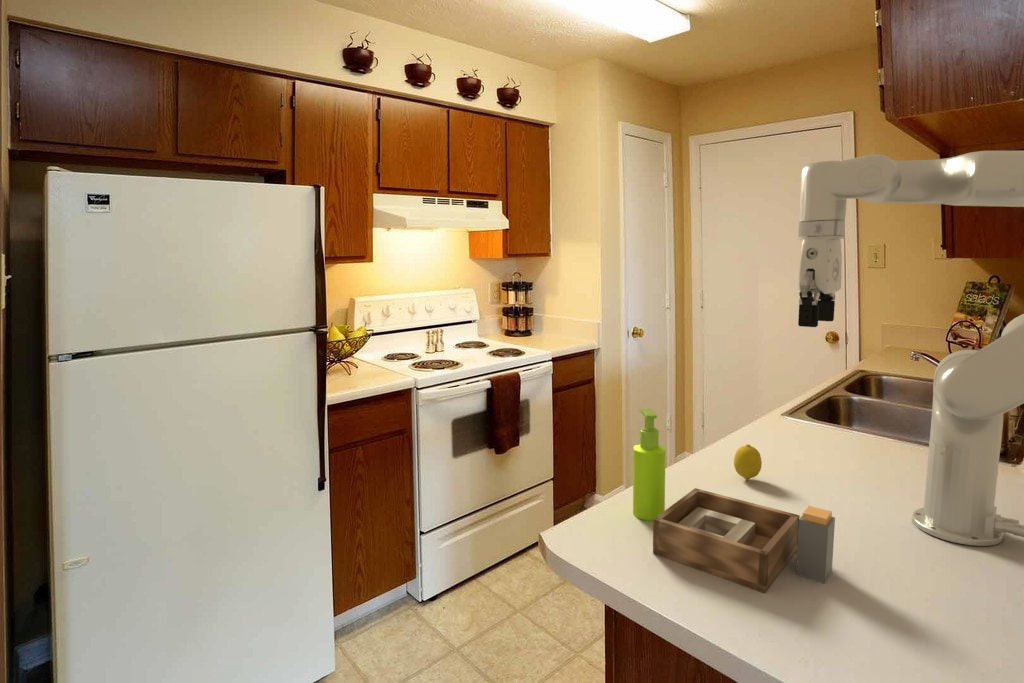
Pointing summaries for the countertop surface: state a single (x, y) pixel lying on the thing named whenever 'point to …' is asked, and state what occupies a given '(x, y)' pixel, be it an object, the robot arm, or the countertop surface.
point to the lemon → (747, 462)
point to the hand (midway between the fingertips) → (816, 323)
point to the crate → (727, 537)
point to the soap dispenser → (648, 471)
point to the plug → (815, 544)
